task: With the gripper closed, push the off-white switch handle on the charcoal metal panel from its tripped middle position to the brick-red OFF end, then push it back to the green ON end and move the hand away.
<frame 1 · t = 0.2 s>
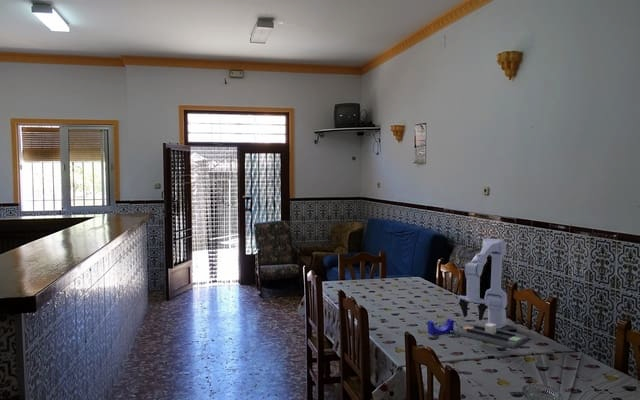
hand: (472, 318, 229), 10 cm above the table, tool pointing down, fingers open, 7 cm apart
breaker panel: (490, 336, 233), on the table
switch handle: (490, 329, 233), point 4 cm above the table, slide at 0.0 cm
cable clip: (439, 332, 240), on the table
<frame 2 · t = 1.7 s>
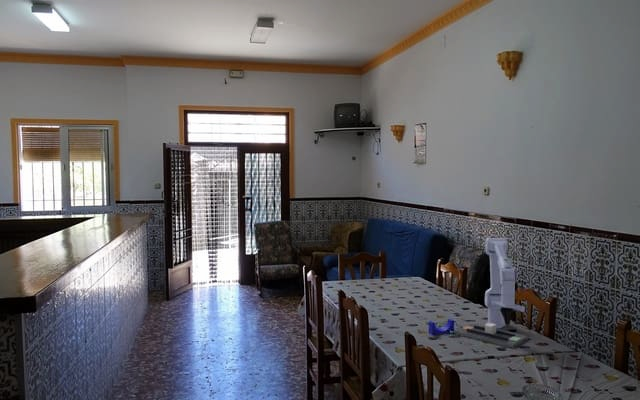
hand: (507, 324, 227), 8 cm above the table, tool pointing down, fingers closed
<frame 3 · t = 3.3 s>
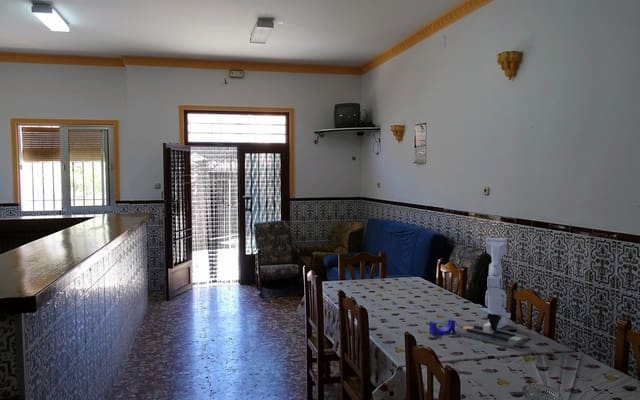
hand: (494, 330, 231), 3 cm above the table, tool pointing down, fingers closed
switch handle: (488, 328, 233), point 4 cm above the table, slide at -1.1 cm, touching gripper
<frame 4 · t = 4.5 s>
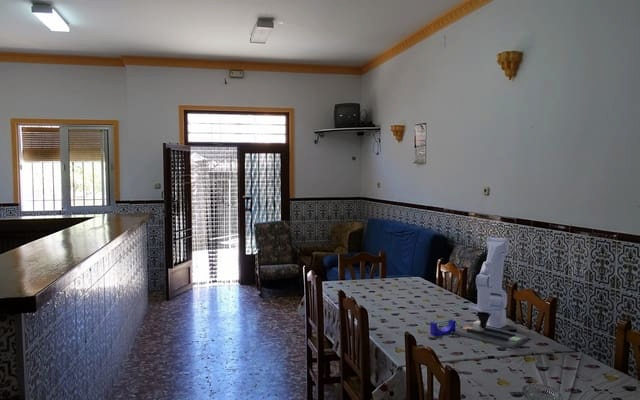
hand: (483, 327, 235), 3 cm above the table, tool pointing down, fingers closed
switch handle: (478, 326, 237), point 4 cm above the table, slide at -6.1 cm, touching gripper
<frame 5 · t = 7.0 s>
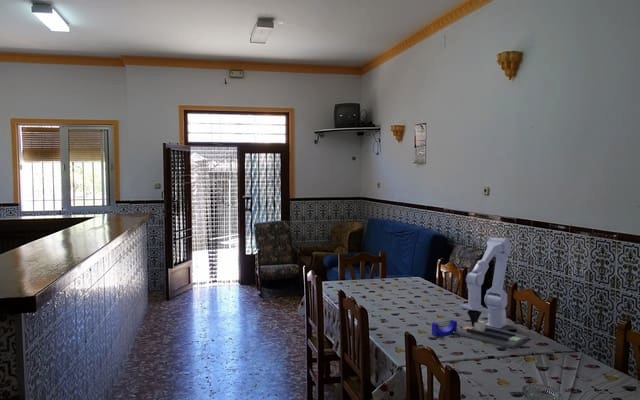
hand: (474, 325, 238), 3 cm above the table, tool pointing down, fingers closed
switch handle: (479, 326, 236), point 4 cm above the table, slide at -5.4 cm, touching gripper
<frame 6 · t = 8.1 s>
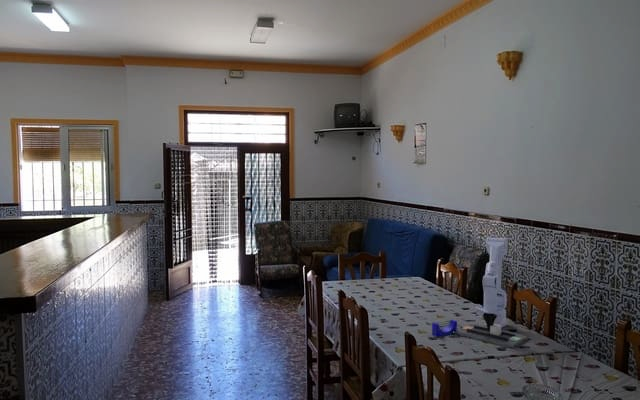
hand: (489, 329, 233), 3 cm above the table, tool pointing down, fingers closed
switch handle: (495, 330, 231), point 4 cm above the table, slide at 2.4 cm, touching gripper
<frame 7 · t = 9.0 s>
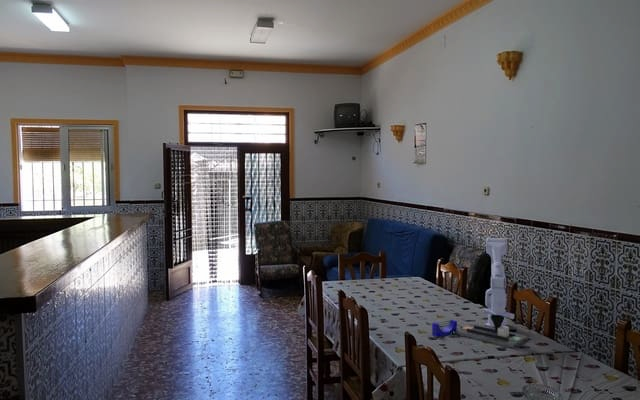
hand: (497, 331, 230), 3 cm above the table, tool pointing down, fingers closed
switch handle: (503, 331, 228), point 4 cm above the table, slide at 6.1 cm, touching gripper
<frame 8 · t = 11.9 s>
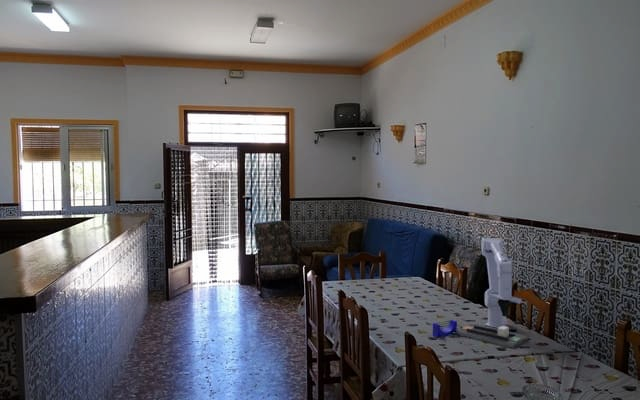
hand: (504, 315, 234), 9 cm above the table, tool pointing down, fingers closed
switch handle: (503, 331, 228), point 4 cm above the table, slide at 6.1 cm
at the end: switch handle slide at 6.1 cm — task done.
